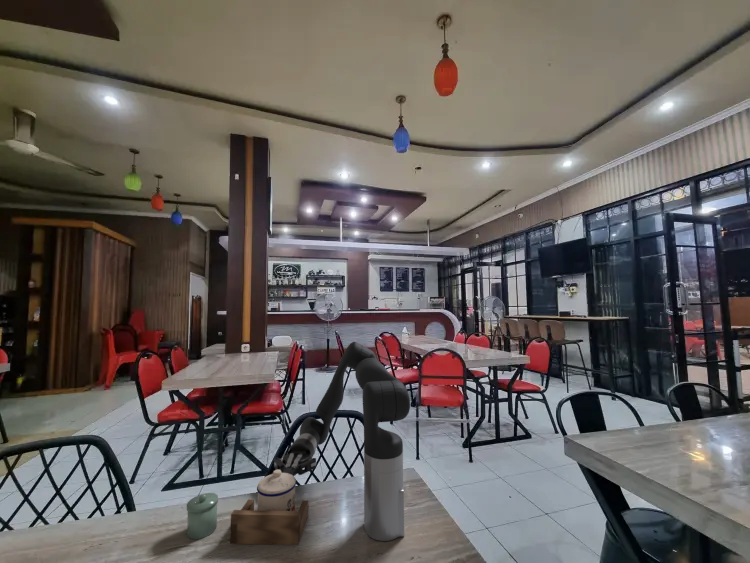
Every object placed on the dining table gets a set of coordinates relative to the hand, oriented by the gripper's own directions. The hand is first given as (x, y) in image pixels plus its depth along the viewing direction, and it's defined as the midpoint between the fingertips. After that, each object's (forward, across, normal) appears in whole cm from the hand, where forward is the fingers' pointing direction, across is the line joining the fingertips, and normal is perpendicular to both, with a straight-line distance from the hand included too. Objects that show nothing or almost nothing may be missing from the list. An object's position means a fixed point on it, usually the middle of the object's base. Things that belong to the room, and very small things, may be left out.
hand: (285, 478), depth 85 cm
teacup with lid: (+6, 0, +6) cm, 9 cm away
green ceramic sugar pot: (+11, -16, +6) cm, 20 cm away
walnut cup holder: (+10, 0, +6) cm, 12 cm away
